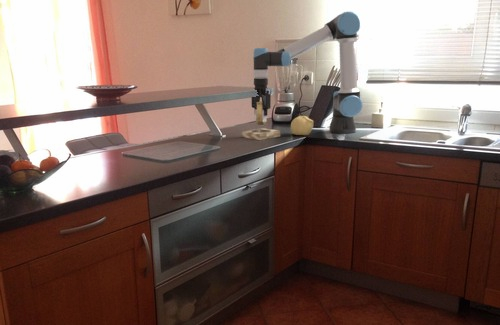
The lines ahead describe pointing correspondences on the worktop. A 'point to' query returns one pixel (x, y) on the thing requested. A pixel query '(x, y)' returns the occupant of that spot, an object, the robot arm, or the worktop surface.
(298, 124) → the pale yellow round lump
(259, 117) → the bushing
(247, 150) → the worktop surface
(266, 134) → the jig
